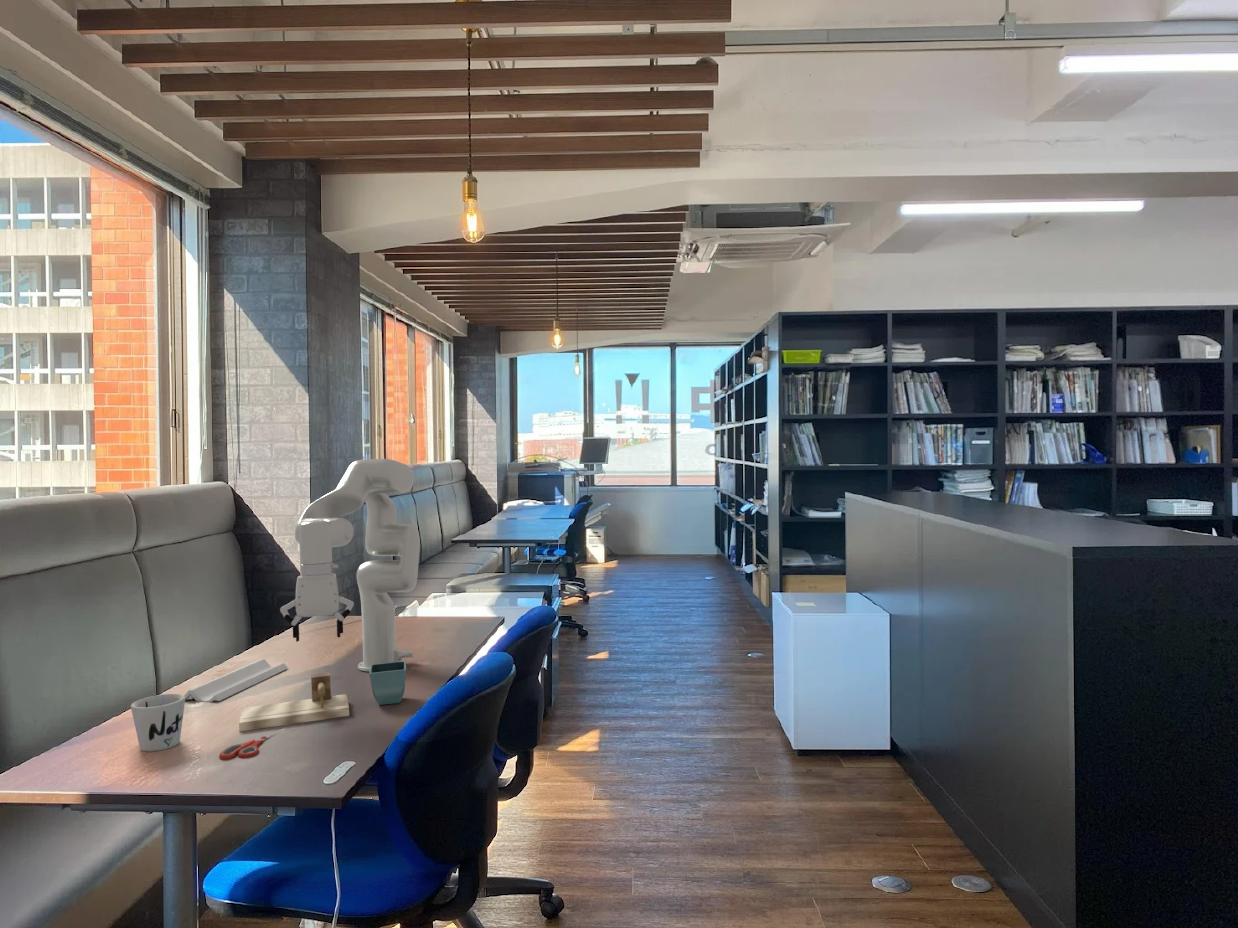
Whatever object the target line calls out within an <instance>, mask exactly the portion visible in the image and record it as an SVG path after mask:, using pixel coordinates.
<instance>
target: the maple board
mask: <svg viewBox="0 0 1238 928" xmlns="http://www.w3.org/2000/svg"><path fill="white" fill-rule="evenodd" d="M343 717H350V706H349V701H348V695H347V694H346V693H345V694H337V695H331V699H329V700H323V707H321V701H314V702H312V698H309V699H308V698H307V699H300V700H291V701H284V702H278V703H270V704H263V705H255V706H249V707H243V708H241V713H240V717H239V722H238V729H239V730H238V731H239V732H246V731H253V730H260V729H266V728H273V727H279V726H287V725H294V724H301V723H310V722H316V721H323V720H330V719H336V718H343Z"/></svg>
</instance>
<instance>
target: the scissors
mask: <svg viewBox="0 0 1238 928" xmlns="http://www.w3.org/2000/svg"><path fill="white" fill-rule="evenodd" d="M287 728H288V727H287V726H286V727H284V728H282V729H279V730H278V729H277V730H276V731H274V732H271V733H269V734H266V735H264V736H262V737H260V738H258V739H255V738H254V739H252V740H249V741H247V742H244V743H237V744H234V745H231V746H228V747H227V748H224V749H223V750H221V751H220V753H219V755H218V757H219V759H220V760H225V761H227V760H231V759H233V758H235V757H236V756H238V758H240V759H247V758H252V757H255V756H257V755H258V754H259V752H260V749H259V746H261V745H262V744H263V743H264V742H265V741H266V740H269V739H271V738H272V737H274V736H276V735H278V734H279V732H280V731H281V732H283V731H284V730H286V729H287ZM281 732H280V733H281ZM249 751H251V752H249ZM230 752H231V753H230Z"/></svg>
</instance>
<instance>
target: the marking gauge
mask: <svg viewBox="0 0 1238 928" xmlns="http://www.w3.org/2000/svg"><path fill="white" fill-rule="evenodd" d="M310 677H311V679H310V681H311V699H312V702H314V701H321V707H323V700H329V699H331V696H332V694H331V693H332V692H331V691H332V690H331V672H330V671H329V672H322V673H321V672H320V673H313V674H311V675H310Z"/></svg>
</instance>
